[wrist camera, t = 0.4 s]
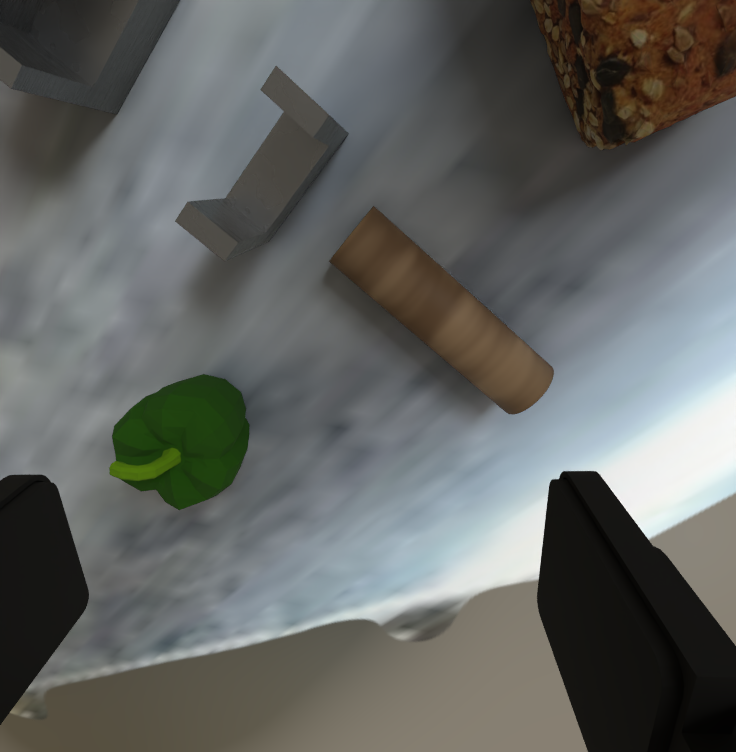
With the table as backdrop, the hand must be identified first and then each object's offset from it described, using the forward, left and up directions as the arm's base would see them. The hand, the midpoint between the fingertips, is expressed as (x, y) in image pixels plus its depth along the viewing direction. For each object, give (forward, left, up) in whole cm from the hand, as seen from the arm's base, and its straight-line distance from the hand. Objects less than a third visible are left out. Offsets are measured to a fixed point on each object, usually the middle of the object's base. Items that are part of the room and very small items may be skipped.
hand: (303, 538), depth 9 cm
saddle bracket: (-2, -9, -26) cm, 28 cm away
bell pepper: (+16, -3, -27) cm, 31 cm away
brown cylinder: (-2, +5, -24) cm, 25 cm away
